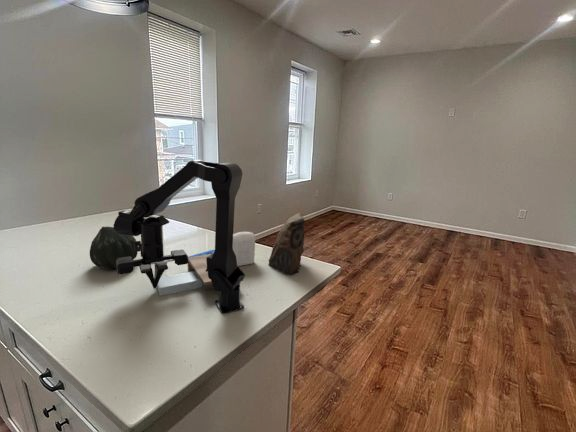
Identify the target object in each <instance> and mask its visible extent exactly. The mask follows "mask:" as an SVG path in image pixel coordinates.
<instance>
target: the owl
mask: <svg viewBox="0 0 576 432" xmlns="http://www.w3.org/2000/svg"><path fill="white" fill-rule="evenodd" d="M305 225H306V220H305V219H304V217H303V216H302V213H301V212H300V211H299V212H298V213H296V214H294V215H292V216H291V217H289V219H287V220H286V221H285V223H284V224H283V225H282V226H281V228H280V230H279V232H278V234H277V238H276V240H275V242H274V244H273V246H272V248H271V253H270V257H269V259H268V264H267V266H269V267H271V268H273V269H275V270H277V271H278V272H281V273H282V274H284V275H287V276H294V275H297V274H299V273H300V271H299V270H301V269H300V267H301V262H302V255H303V254H304V251H305V249H304V244H305V243H304V242H305V235H306V234H305V232H304V230H305Z"/></svg>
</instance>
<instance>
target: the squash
mask: <svg viewBox="0 0 576 432" xmlns="http://www.w3.org/2000/svg"><path fill="white" fill-rule="evenodd" d="M134 241H137V240H136V238H135V236H131V235H125V234H119V233H117V232H115V230H114V226H102V227H101V228H100V229H99V231H98V232H97V234H96V236H94V238H93V240H92V241H91V244H90V248H89V258H90V261H91V262H92V264H93V265H95V266H96V267H98V268H103V269H105V270H108V271H109V270H110V271H111V270H113V269H116V270H117V266H116V260H117V259H118V258H122V257H130V256H131V257H132V260H136V258H137V256H138V252H134Z"/></svg>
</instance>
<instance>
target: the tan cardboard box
mask: <svg viewBox="0 0 576 432" xmlns="http://www.w3.org/2000/svg"><path fill="white" fill-rule="evenodd" d="M209 255H211V254H207V255H200V256H194V257H189V256H188V263H187V272H192V271H195V272H196V274H197V275H198V277H199V278H200V280H201V281H202V283H203V284H204V285H202V287H201V289H202V290H208V289H214V287H213V284H212V281H211V279H209V277H208V271H207V272H206V269H207V262H206V259H207V257H208V256H209Z"/></svg>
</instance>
